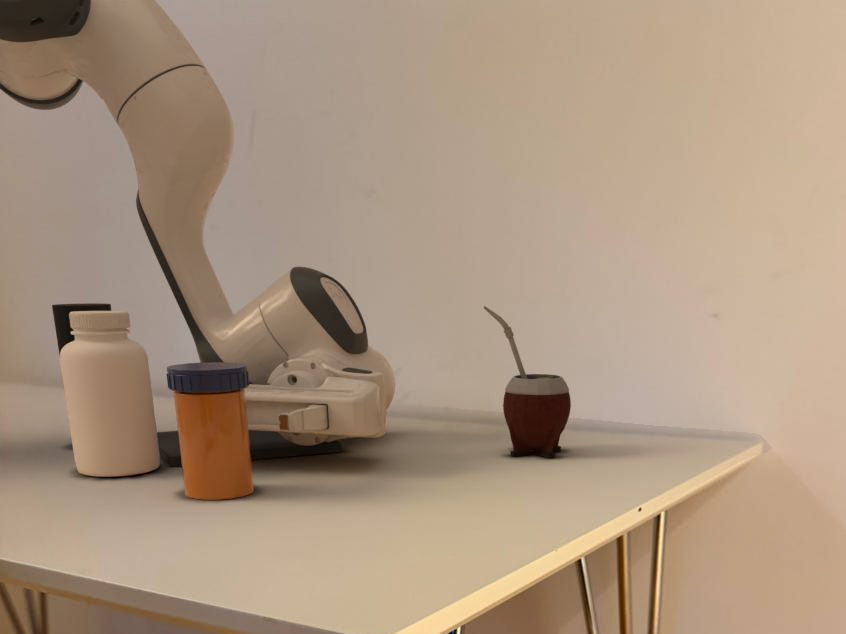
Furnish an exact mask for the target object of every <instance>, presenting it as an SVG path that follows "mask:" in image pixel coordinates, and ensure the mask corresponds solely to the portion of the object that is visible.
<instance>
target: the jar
mask: <svg viewBox="0 0 846 634" xmlns="http://www.w3.org/2000/svg"><path fill="white" fill-rule="evenodd" d="M173 399H174V409H175V416H176V427H177V431H178V435H179V444H180V453H181V462H182V465H181V469H182V479H183V487H184V495H185V497H188V498H189V499H195V500H201V501H202V500H203V501H218V500H230V499H237V498H242V497H245V496H248V495H251V494H252V493H254V492H255V491H254V490H255V487H254V476H253V475H254V474H253V465H252V464H253V463H252V459H251V452H250V441H249V429H248V418H247V406H246V395H245V389H240V390H233V391H223V392H178V391H173Z"/></svg>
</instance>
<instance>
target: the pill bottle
mask: <svg viewBox="0 0 846 634" xmlns="http://www.w3.org/2000/svg"><path fill="white" fill-rule="evenodd" d="M69 318H70V325H71V328H72V329H73V330H74V331H71V334H72V335H74V336H75V340H74V341H72V342H70V343H68V344H66V345H65V346H64V347H63V348H62V350H61V352H60V355H59V365H60V372H61V373H60V374H61V379H62V384H63V385H62V386H63V392H64V398H65V404H66V411H67V418H68V425H69V431H70V438H71V444H72V445H71V446H72V452H73V458H74V464H75V467H76V470H77V472H78V473H79V474H81V475H85V476H91V477H103V478H105V477H107V478H108V477H109V478H110V477H111V478H113V477H125V476H126V477H127V476H134V475H141V474H145V473H150V472H152V471H155V470H158V468H159V467H160V465H161V458H160V457H161V455H160V454H159V446H158V438H157V432H158V430H157V422H156V414H155V406H154V397H153V390H152V389H153V388H152V381H151V374H150V373H151V372H150V366H149V365H150V364H149V356H148V354H147V351H146V349H145V347H144V346H143V345H142V344H141V343H139V342H137V341H136V340H132V339H129V337H128V334H131V330H130V329H129V328H131V318H130V313H129V312H128V311H127V310H111V311H74V312H70V314H69Z"/></svg>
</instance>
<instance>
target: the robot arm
mask: <svg viewBox="0 0 846 634" xmlns="http://www.w3.org/2000/svg"><path fill="white" fill-rule="evenodd" d="M83 83H84V84H86V85H88V87H90V88H91V89H92V90H93V91H94V92H95V93H96V94H97V95H98V96H99V98H100V99H101V100H102V101H103V102H104V104H105V106H106V108H107V109H108V111H109V113H110V114H111V117H113V119H114V122H115V123H116V125H117V126H118V127H119V129H120V131H121V132H122V134H123V136H124V138H125V140H126V143H127V145H128V148H129V150H130V153H131V156H132V159H133V164H134V169H135V172H136V173H135V174H136V178H137V193H136V198H135V204H136V205H135V206H136V210H137V213H138V218H139V220H140V223H141V225H142V227H143V230H144V232H145V234H146V237H147V239H148V242H149V245H150V246H151V249H152V251H153V253H154V255H155V257H156V261H157V263H158V264H159V266H160V269H161V270H162V273H163V275H164V277H165V279H166V282H167V283H168V286H169V289H170V290H171V292H172V294H173V297H174V299H175V301H176V303H177V305H178V307H179V310H180V312H181V314H182V316H183V318H184V321H185V323H186V325H187V326H188V329H189V331H190V334H191V335H192V339H193V342H194V345H195V349H196V352H197V355H198V358H199V363H206V362H229V363H241V364H246V365H247V371H248V376H249V386H248V387H247V388H244V389H245V395H246V406H247V418H248V429H249V430H257V431H275V432H279V433H280V434H281V435H282V436H283V437H284V438H286V439H287V440H289V441H290V442H293V443H295V444H298V445H304V446H311V445H316V444H319V443H322V442H325V441H326V442H331V441H334V440H336V441H339V440H342V439H343V440H344V439H347V440H350V439H377V438H380V437H383V436H384V435H386V426H387V410H388V409H389V408H390V406H391V404H392V402H393V400H394V398H395V393H396V385H397V383H396V376H395V375H396V374H395V371H394V369H393V367H392V366H391V364H390V362H389V360H388V359H387V358H386V356H385V355H384V354H382V353H381V352H379V351H378V350H376V349H375V348H373V346H371V345H370V344H369V338H368V331H367V326H366V323H365V321H364V318H363V315H362V312H361V311H360V308H359V306H358V305H357V303H356V302H355V300H354V299H353V297H352V296H351V294H350V293H349V291H348V290H347V289H346V288H345V286H344V285H343V284H341V283H340V281H338V280H337V279H335V278H334V277H332V276H330V275H329V274H326V273H324V272H322V271H320V270H317V269H314V268H312V267H306V266H294V267H292V268H291V269H290V270H288V271H287V272H286V273H284V274H283V275H282V276H280V277H279V278H278V279H276V280H275V281H274V282H272V283H271V284H269V286H268V287H266V288H265V289H264V290H262V292H260V294H259V295H257V296H256V297H255V298H254V299H252V300H251V301H250V302H248V303H247V304H246V305H244V306H243V307H242V308H241V309H239V310H238V311H236V312H235V313H234V312H233V310H232V307H231V306H230V304H229V302H228V299H227V297H226V295H225V292H224V290H223V287H222V286H221V283H220V281H219V279H218V277H217V274H216V272H215V270H214V267H213V266H212V263H211V261H210V259H209V257H208V254H207V251H206V247H205V243H204V231H205V230H204V229H205V225H206V219H207V217H208V213H209V210H210V207H211V205H212V202H213V200H214V198H215V195H216V193H217V191H218V190H219V187H220V185H221V184H222V181H223V180H224V178H225V176H226V174H227V172H228V169H229V167H230V163H231V161H232V160H231V159H232V156H233V151H234V146H235V145H234V144H235V125H234V121H233V118H232V117H233V116H232V113H231V112H230V110H229V107H228V104H227V103H226V100H225V99H224V97H223V94H222V93H221V91H220V89H219V88H218V86H217V84H216V83H215V80H214V79H213V77H212V76H211V74H210V73H209V71H208V69H207V67H206V66H205V65H204V62H203V61H202V60H201V59H200V57H199V55H198V53H197V52H196V51H195V49H194V48H193V47H192V45H191V43H190V42H189V41H188V40H187V38H186V37H185V36H184V34H183V32H182V31H181V30H180V28H179V27H178V26H177V25H176V23H174V21H173V20H172V19H171V18H170V16H169V14H167V12H166V11H165V10H164V9H163V8H162V7H161V6H160V4H158V2H157V1H156V0H0V90H1V91H2V92H3V93H4V94H5V95H7V96H8V97H9V98H11V99H13V100H14V101H16V102H18V103H19V104H21V105H23V106H25V107H28V108H31V109H33V110H38V111H39V110H40V111H49V110H56V109H60V108H62V107H64V106H65V105H67V104H69V103H70V102H71V101H72V100H73V99H74V98H75V97H76V96H77V94H78V93H79V92H80V90H81V87H82V85H83Z"/></svg>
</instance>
